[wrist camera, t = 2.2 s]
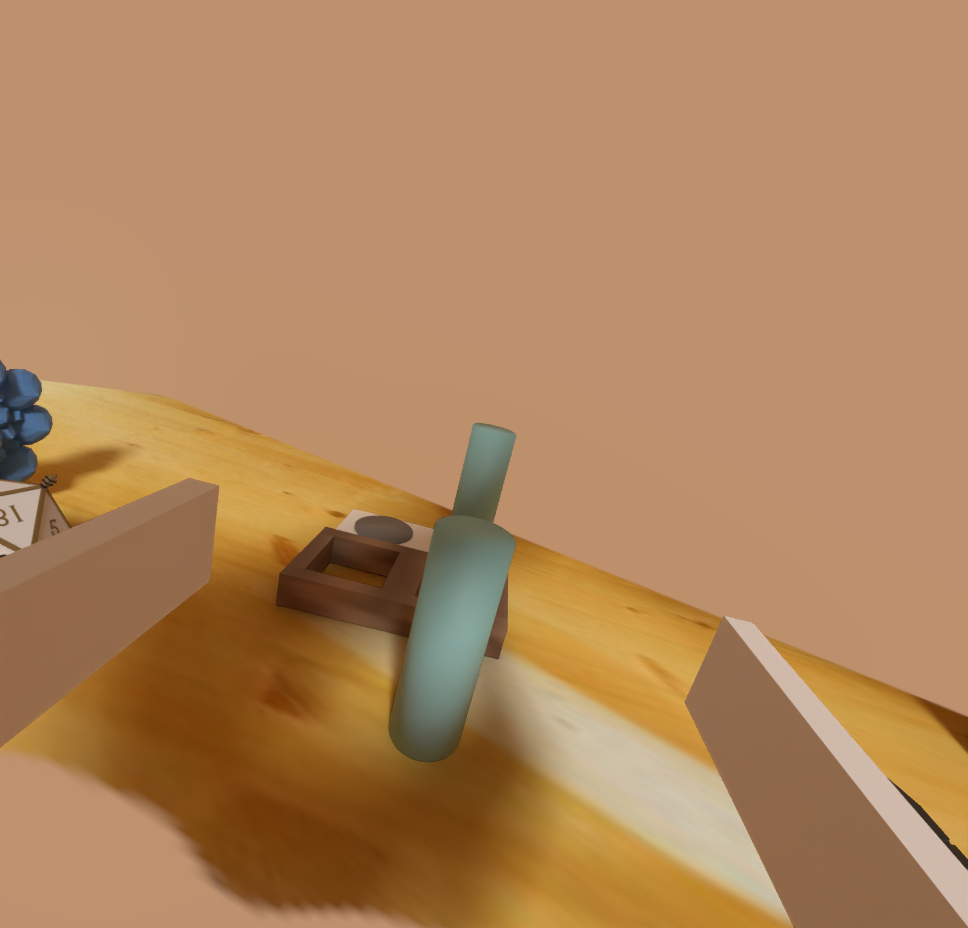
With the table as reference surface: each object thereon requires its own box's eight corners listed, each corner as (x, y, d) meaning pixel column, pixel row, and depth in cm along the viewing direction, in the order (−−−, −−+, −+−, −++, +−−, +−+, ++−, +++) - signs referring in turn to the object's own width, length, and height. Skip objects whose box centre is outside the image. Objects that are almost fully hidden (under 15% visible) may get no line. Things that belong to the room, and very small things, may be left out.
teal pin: (474, 729, 26) (529, 541, 23) (429, 777, 22) (487, 564, 19) (421, 688, 28) (465, 509, 24) (373, 727, 24) (417, 526, 21)
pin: (492, 551, 45) (524, 435, 42) (469, 563, 41) (502, 438, 38) (460, 534, 47) (488, 422, 43) (436, 544, 43) (464, 423, 40)
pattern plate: (502, 555, 47) (505, 544, 47) (500, 596, 40) (504, 584, 39) (352, 517, 47) (354, 507, 47) (321, 552, 39) (323, 540, 39)
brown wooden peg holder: (500, 596, 40) (508, 571, 39) (498, 659, 32) (507, 629, 31) (321, 552, 39) (325, 526, 39) (275, 604, 32) (279, 573, 31)
